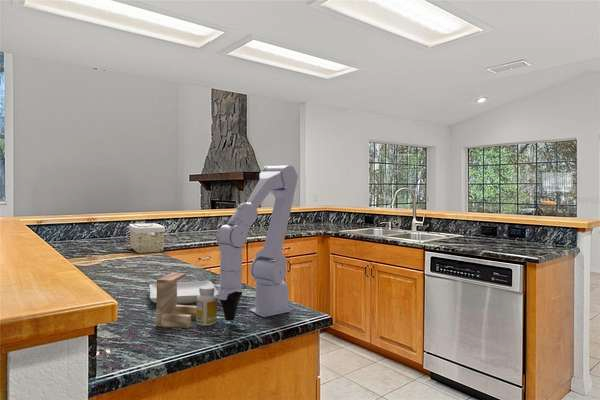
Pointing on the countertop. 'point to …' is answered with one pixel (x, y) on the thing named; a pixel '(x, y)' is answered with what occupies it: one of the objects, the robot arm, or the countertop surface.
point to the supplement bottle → (206, 306)
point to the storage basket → (147, 237)
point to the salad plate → (184, 291)
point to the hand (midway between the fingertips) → (229, 319)
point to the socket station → (172, 304)
